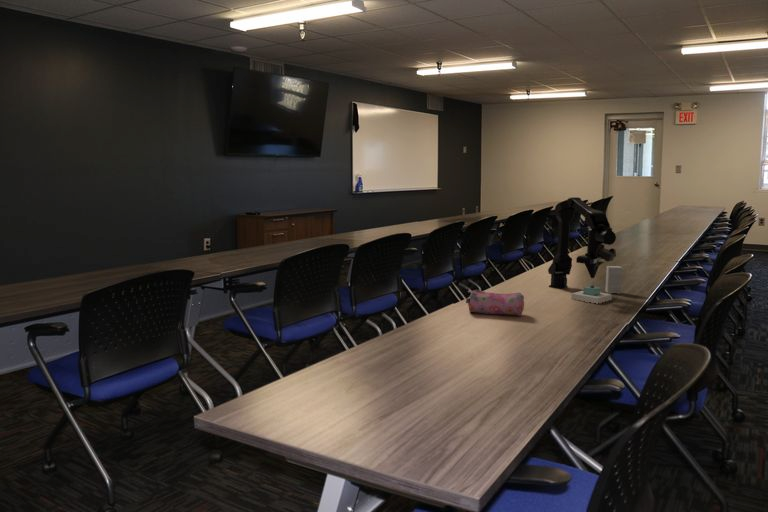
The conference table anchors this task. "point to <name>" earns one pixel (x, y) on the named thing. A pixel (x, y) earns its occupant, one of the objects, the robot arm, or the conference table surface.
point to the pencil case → (495, 303)
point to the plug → (591, 290)
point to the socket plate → (591, 297)
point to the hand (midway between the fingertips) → (592, 278)
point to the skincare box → (613, 279)
